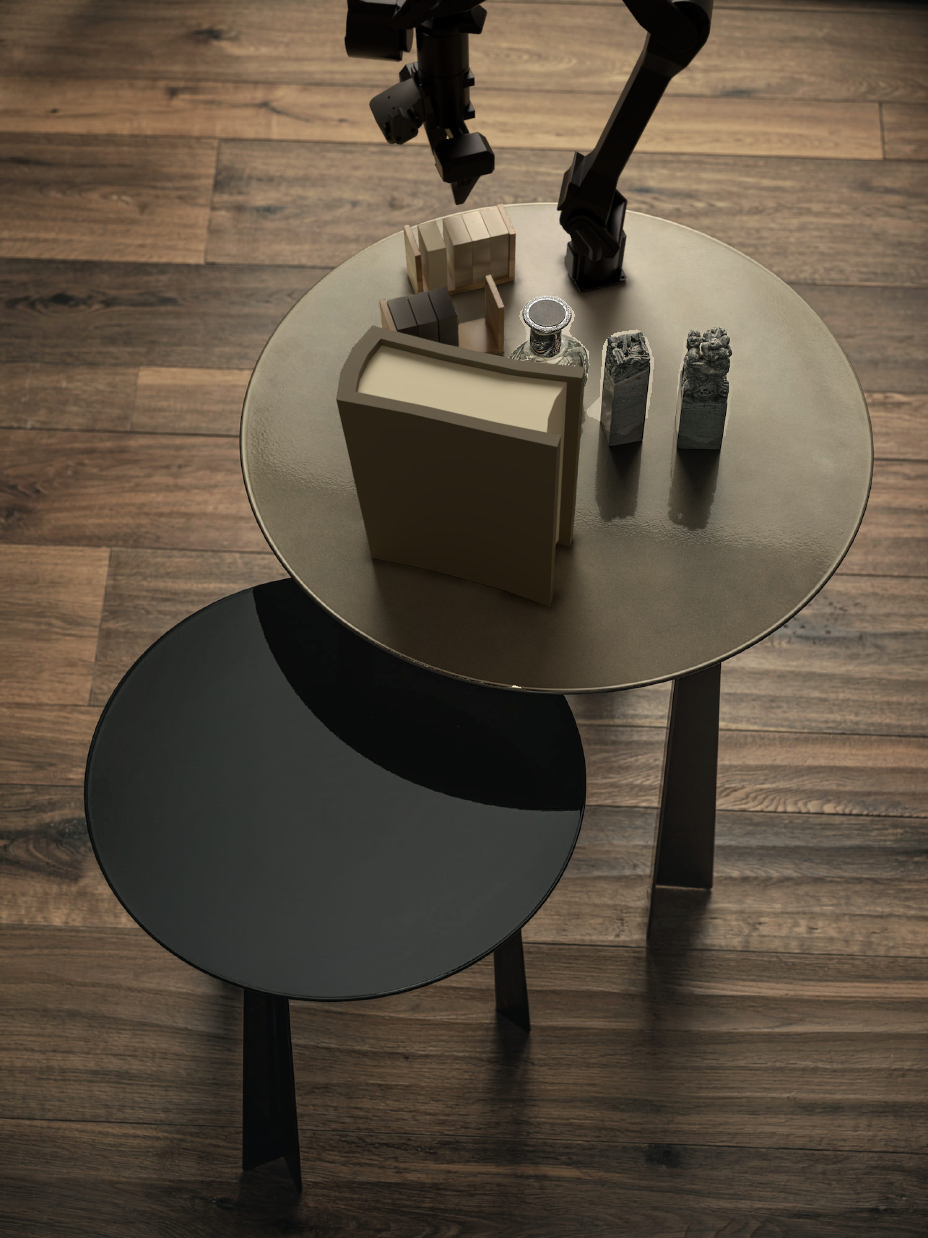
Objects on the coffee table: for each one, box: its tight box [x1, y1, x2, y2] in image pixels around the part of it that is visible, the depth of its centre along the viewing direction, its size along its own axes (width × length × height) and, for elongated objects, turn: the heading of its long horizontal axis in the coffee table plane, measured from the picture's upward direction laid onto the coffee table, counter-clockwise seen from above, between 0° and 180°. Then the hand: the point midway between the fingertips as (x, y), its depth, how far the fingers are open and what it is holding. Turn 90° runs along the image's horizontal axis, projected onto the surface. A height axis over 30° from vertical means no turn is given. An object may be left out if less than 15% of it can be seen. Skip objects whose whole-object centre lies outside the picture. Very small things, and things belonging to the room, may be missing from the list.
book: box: [335, 324, 587, 607], centre depth 111 cm, size 22×9×28 cm, turn 72°
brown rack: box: [402, 203, 517, 296], centre depth 139 cm, size 13×6×8 cm, turn 106°
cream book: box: [417, 220, 448, 291], centre depth 138 cm, size 2×5×7 cm, turn 16°
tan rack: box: [378, 275, 506, 355], centre depth 133 cm, size 14×6×8 cm, turn 106°
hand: (448, 179), depth 134 cm, fingers open, 9 cm apart
